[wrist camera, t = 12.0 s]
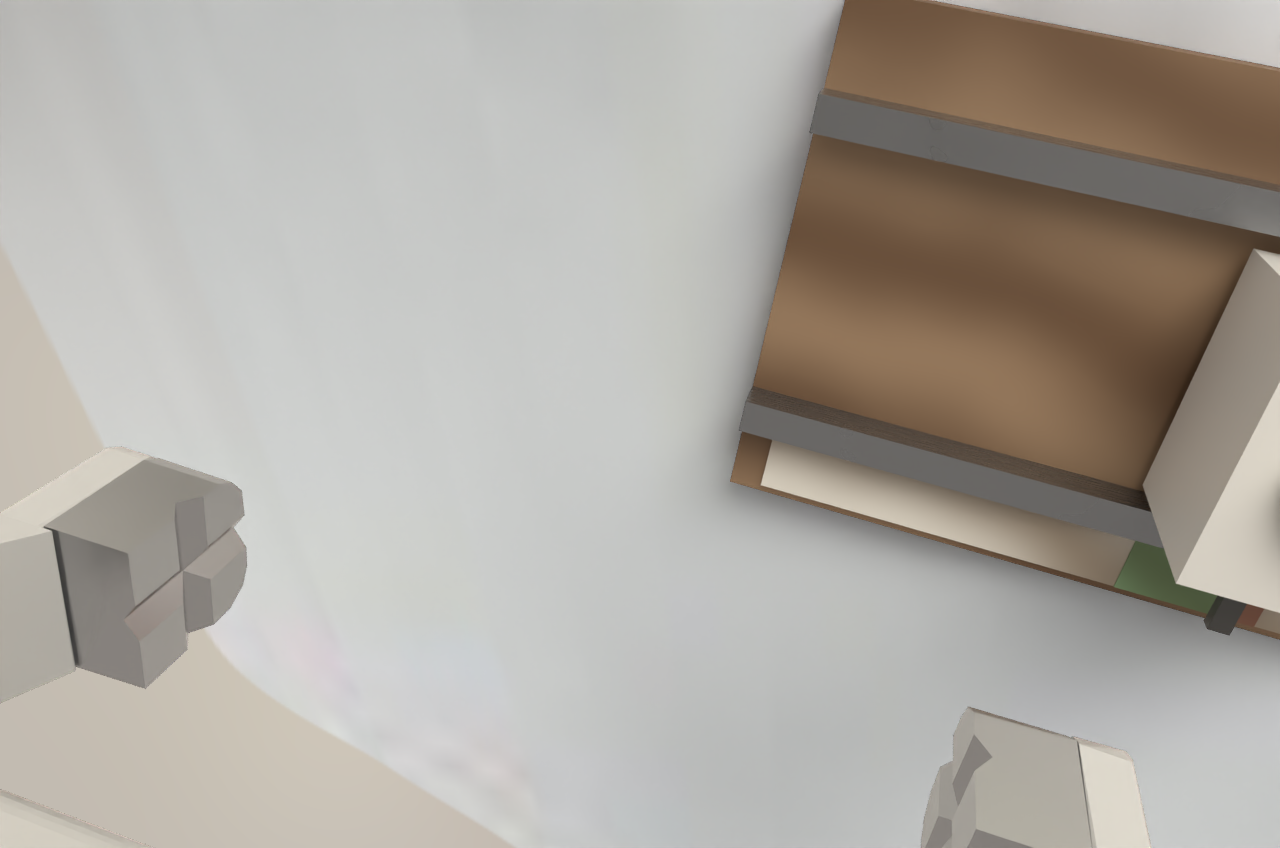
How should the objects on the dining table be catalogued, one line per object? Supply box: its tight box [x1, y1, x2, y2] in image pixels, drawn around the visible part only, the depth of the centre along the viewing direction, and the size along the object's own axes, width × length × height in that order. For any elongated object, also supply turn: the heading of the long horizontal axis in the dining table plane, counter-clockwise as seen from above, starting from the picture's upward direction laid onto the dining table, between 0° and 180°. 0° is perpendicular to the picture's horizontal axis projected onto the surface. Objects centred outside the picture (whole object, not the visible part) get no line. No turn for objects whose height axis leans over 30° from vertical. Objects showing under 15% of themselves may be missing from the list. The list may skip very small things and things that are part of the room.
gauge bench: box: [730, 0, 1280, 639], centre depth 27 cm, size 15×26×2 cm, turn 80°
